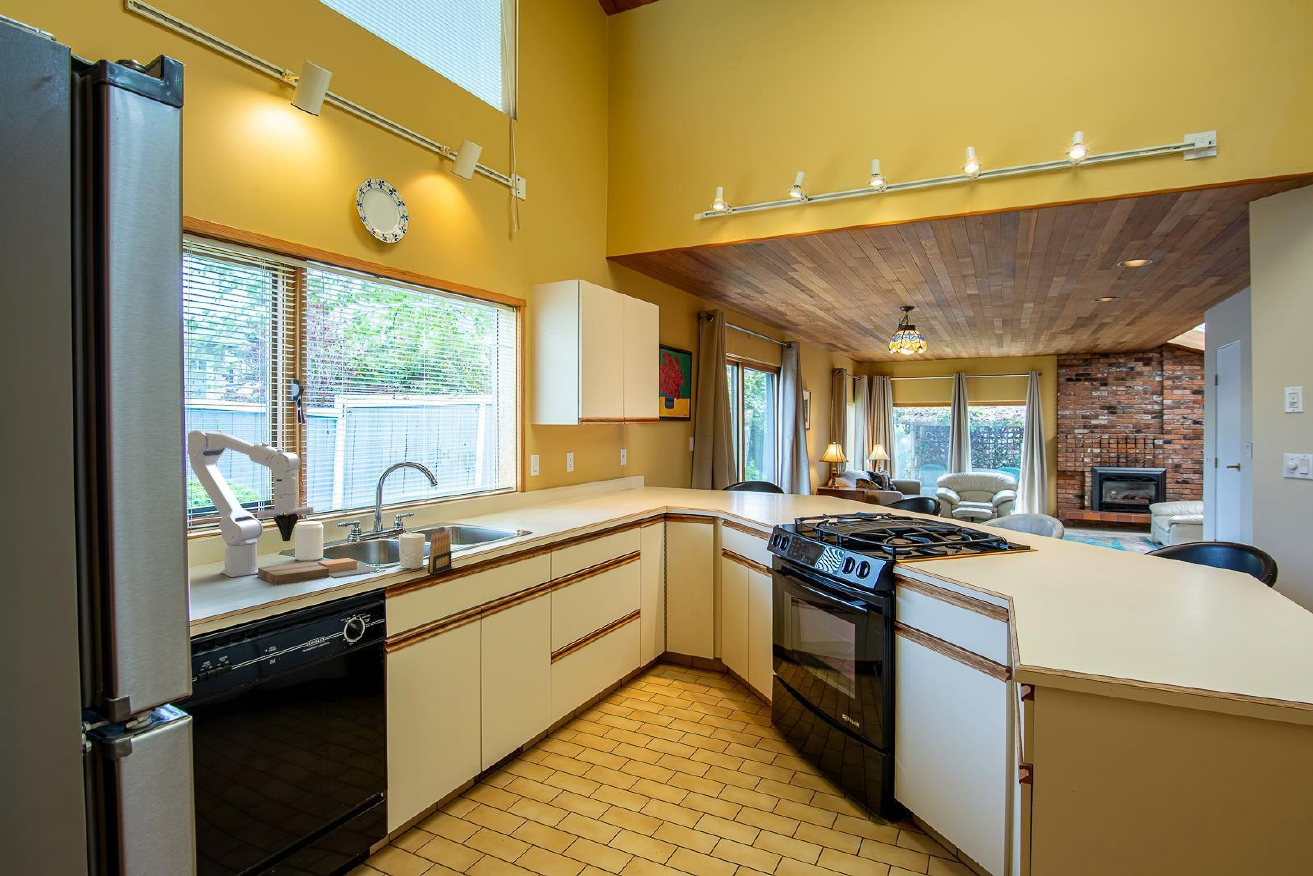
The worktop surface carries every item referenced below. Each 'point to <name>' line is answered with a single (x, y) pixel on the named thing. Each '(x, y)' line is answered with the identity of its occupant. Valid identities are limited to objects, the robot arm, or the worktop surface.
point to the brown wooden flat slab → (293, 572)
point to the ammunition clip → (440, 552)
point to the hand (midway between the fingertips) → (286, 540)
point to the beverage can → (309, 541)
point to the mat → (354, 571)
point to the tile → (339, 564)
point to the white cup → (411, 550)
